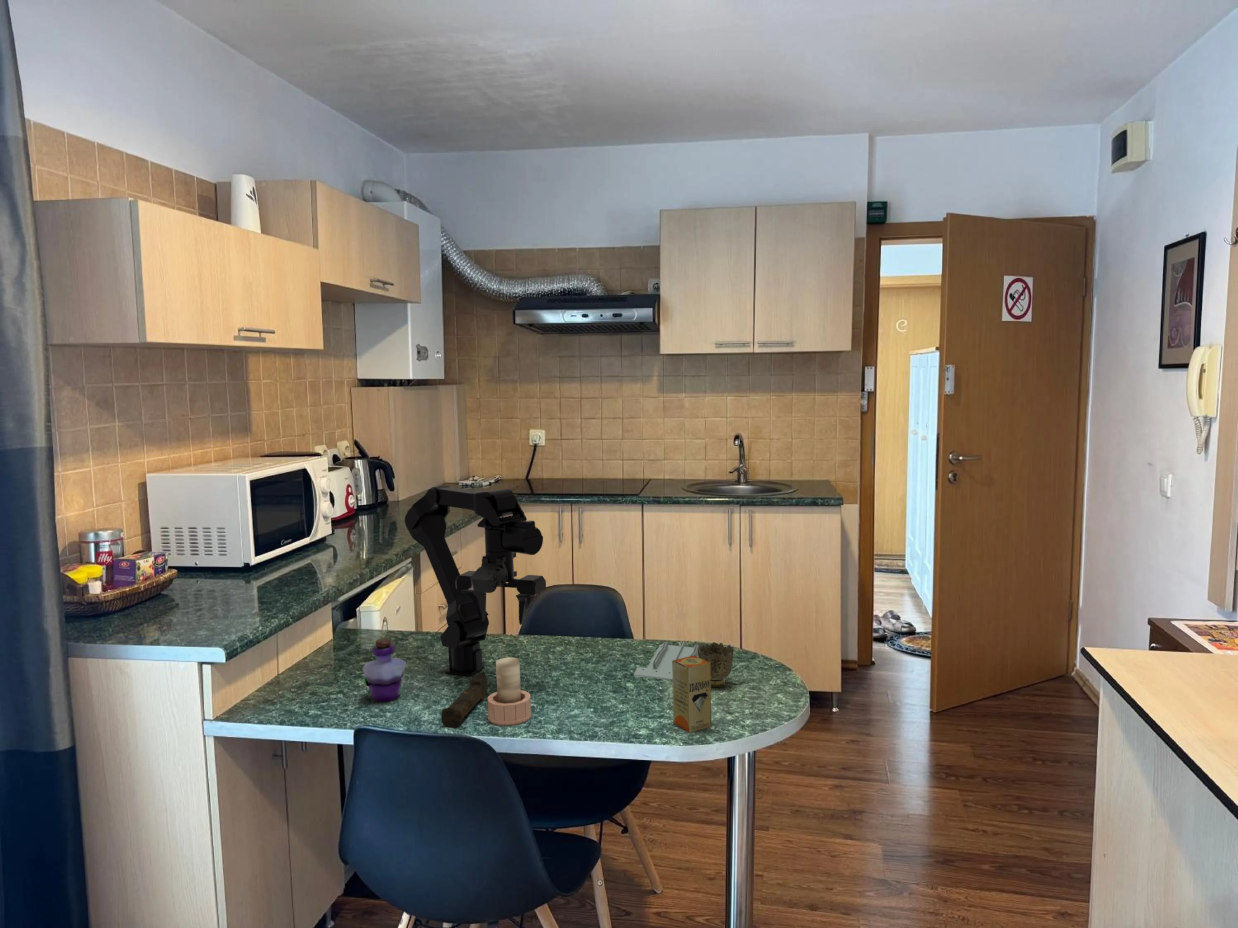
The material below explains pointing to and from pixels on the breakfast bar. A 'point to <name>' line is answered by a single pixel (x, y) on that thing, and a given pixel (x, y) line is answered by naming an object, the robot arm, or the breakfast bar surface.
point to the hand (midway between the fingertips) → (502, 622)
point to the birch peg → (508, 680)
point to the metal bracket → (665, 661)
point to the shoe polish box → (691, 693)
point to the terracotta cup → (509, 710)
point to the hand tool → (465, 701)
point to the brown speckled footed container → (717, 661)
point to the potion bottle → (384, 672)
